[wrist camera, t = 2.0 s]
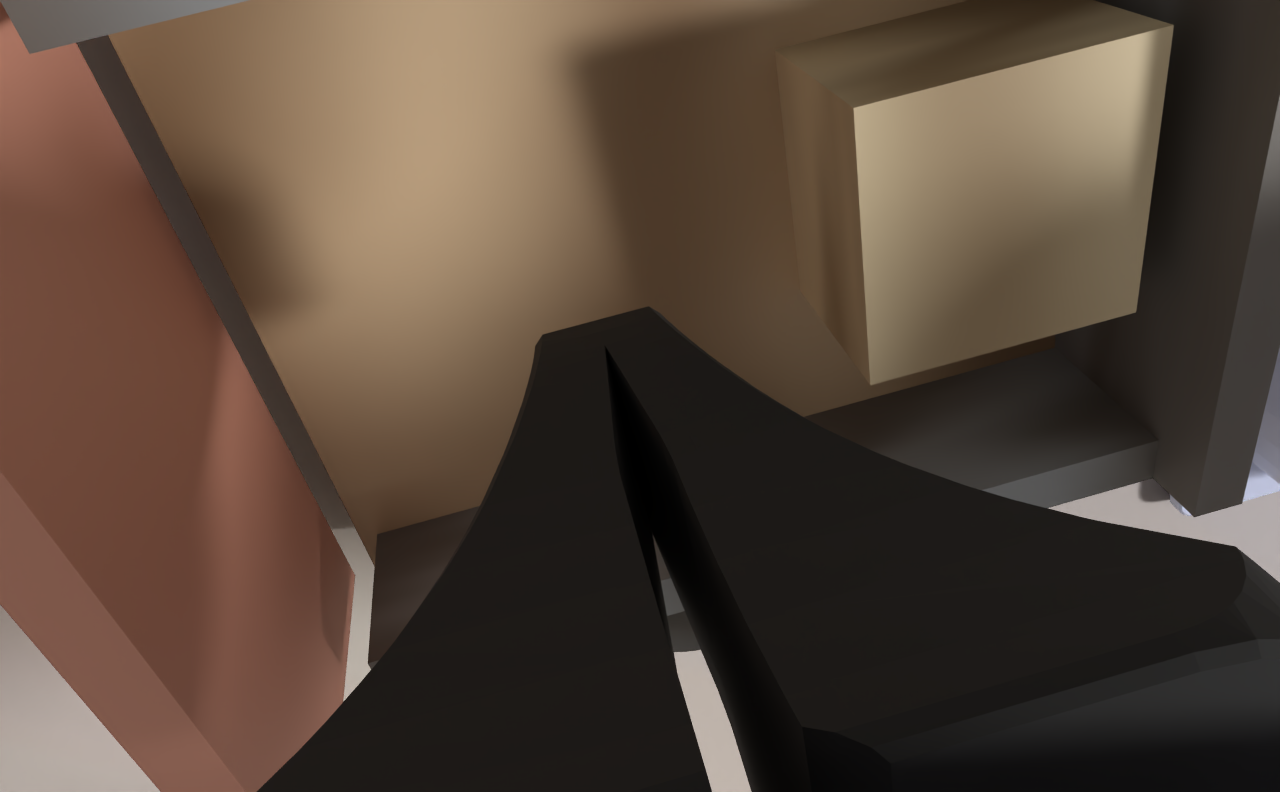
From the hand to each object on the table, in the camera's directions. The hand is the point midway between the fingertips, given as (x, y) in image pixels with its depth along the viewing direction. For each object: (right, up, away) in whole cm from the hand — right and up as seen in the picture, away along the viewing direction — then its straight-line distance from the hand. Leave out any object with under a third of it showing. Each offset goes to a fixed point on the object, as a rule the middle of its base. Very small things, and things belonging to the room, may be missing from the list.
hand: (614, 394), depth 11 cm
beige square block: (+4, +4, +4) cm, 7 cm away
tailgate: (-6, +1, +3) cm, 7 cm away
